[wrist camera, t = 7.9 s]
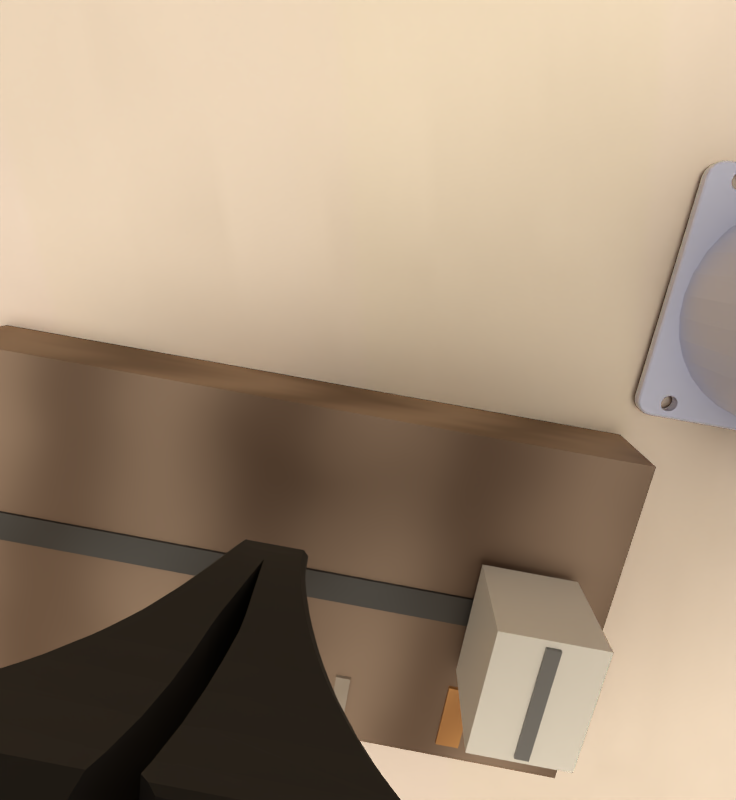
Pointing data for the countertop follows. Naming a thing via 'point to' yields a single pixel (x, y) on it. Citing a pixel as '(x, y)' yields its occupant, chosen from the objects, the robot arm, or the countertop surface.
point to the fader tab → (530, 669)
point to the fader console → (293, 512)
